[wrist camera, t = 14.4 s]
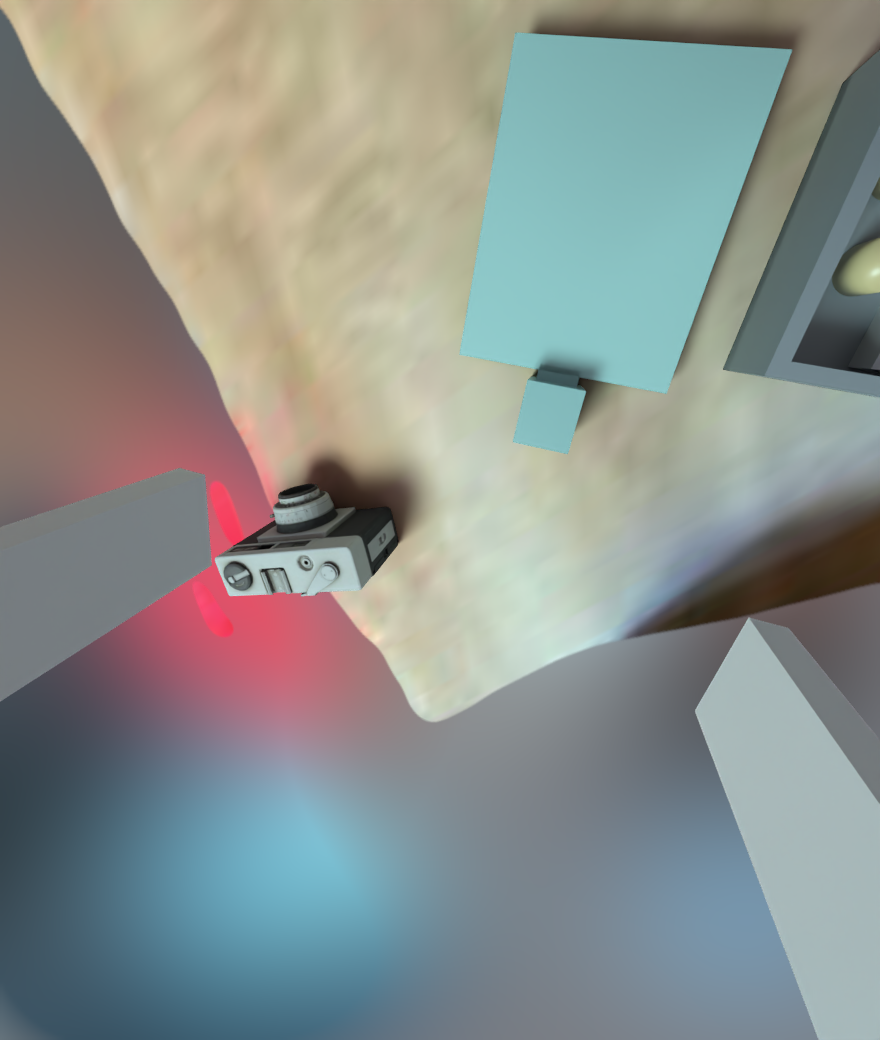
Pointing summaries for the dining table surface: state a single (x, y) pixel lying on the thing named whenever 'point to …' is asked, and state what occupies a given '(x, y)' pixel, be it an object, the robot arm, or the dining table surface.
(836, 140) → the tub
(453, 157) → the dining table surface
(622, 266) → the lid
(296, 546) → the camera
